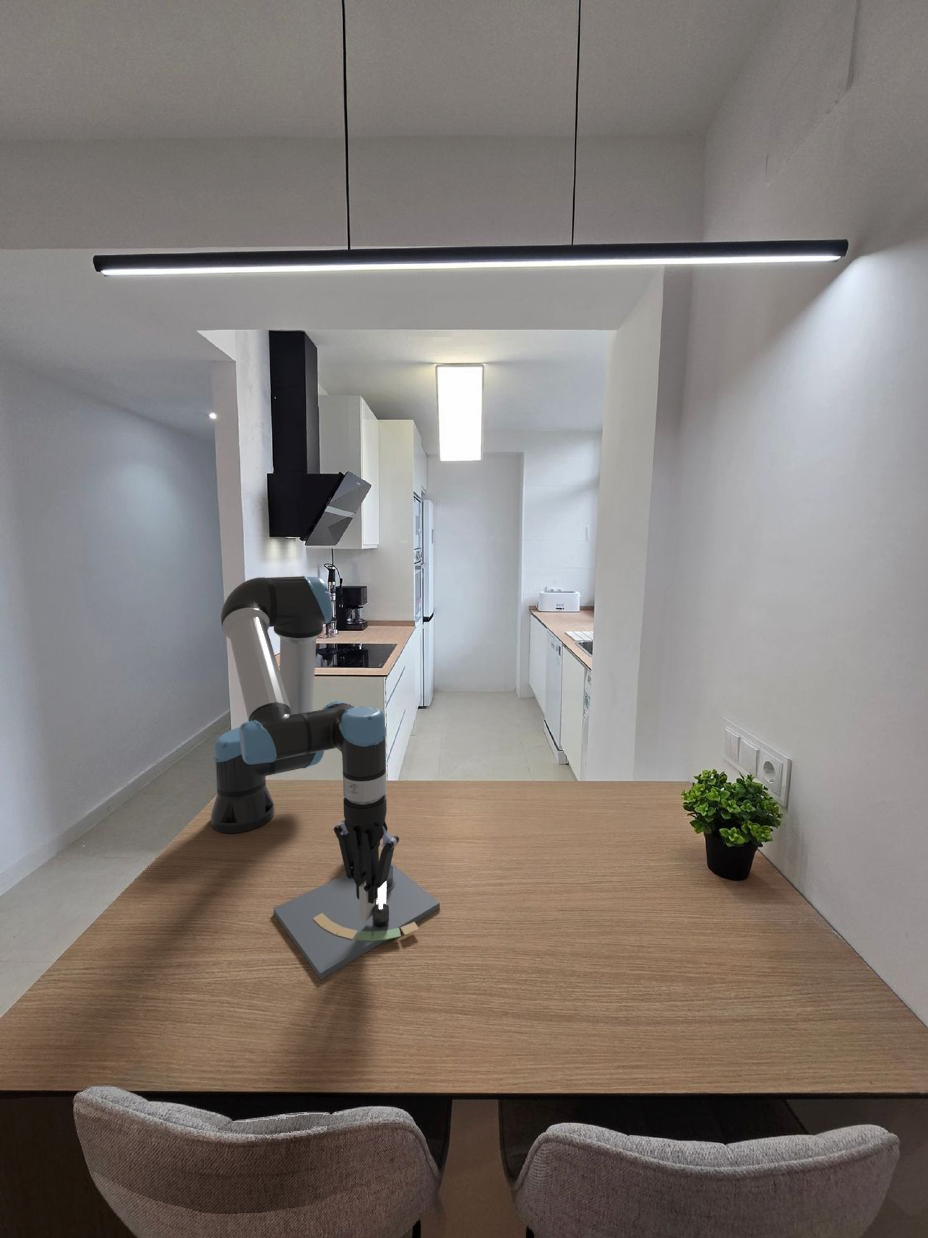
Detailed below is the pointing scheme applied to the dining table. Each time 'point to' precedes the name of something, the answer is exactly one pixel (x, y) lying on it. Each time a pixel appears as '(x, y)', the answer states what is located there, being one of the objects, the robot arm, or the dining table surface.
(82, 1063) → the dining table surface
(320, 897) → the dial board
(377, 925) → the needle lever
